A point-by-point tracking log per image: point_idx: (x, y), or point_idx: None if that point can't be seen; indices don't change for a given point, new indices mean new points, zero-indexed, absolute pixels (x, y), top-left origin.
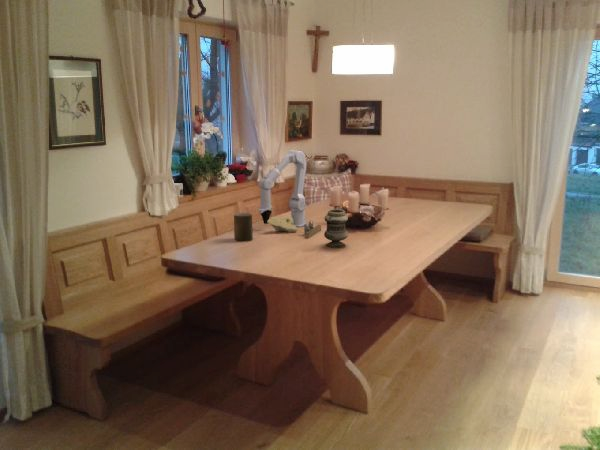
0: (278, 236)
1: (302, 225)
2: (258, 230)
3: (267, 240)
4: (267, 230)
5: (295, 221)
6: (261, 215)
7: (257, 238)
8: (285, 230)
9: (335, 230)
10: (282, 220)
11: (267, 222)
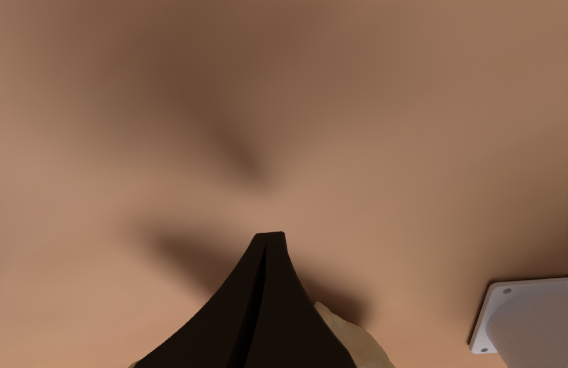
0: None
1: (495, 352)
2: (230, 146)
3: (46, 334)
4: (275, 216)
5: (510, 359)
6: (185, 324)
7: (21, 275)
8: None
9: None
10: None
11: (130, 366)
